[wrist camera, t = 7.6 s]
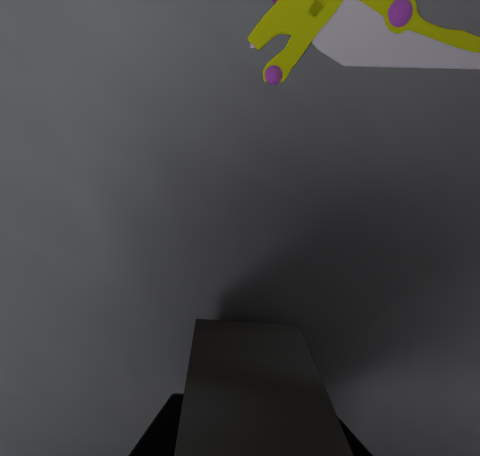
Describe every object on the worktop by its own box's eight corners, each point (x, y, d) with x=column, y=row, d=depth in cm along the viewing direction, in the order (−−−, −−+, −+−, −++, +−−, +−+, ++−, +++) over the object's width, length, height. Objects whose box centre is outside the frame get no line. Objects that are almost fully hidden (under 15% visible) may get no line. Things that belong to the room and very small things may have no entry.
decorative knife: (512, 199, 9) (633, 21, 7) (529, 203, 8) (662, 14, 7) (142, 37, 7) (209, -238, 6) (135, 30, 6) (207, -274, 5)
